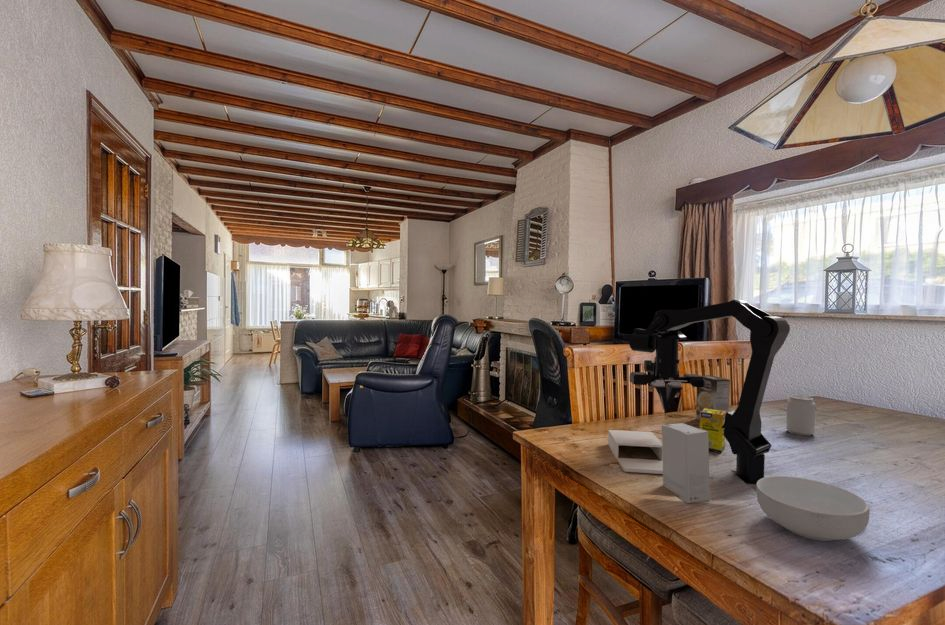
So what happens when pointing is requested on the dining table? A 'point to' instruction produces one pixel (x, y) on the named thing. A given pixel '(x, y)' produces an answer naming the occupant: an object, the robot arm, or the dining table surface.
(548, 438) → the dining table surface
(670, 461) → the skincare box
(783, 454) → the dining table surface
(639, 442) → the carton
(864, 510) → the cereal bowl
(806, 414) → the can
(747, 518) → the dining table surface
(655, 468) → the flap
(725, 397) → the coffee box
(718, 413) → the supplement box
